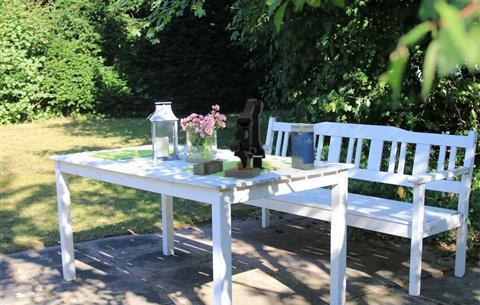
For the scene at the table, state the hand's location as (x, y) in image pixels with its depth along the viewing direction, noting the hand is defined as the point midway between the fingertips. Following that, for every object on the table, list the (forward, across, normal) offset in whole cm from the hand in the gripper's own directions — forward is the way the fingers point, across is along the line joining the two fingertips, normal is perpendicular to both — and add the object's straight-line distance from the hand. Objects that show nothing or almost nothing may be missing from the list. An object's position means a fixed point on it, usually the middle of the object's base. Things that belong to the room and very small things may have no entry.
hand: (245, 167), depth 309 cm
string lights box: (+5, -34, +22) cm, 41 cm away
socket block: (+4, 0, -2) cm, 5 cm away
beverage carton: (+5, -4, -24) cm, 25 cm away
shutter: (+1, 0, -6) cm, 6 cm away
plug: (+2, 0, 0) cm, 2 cm away
